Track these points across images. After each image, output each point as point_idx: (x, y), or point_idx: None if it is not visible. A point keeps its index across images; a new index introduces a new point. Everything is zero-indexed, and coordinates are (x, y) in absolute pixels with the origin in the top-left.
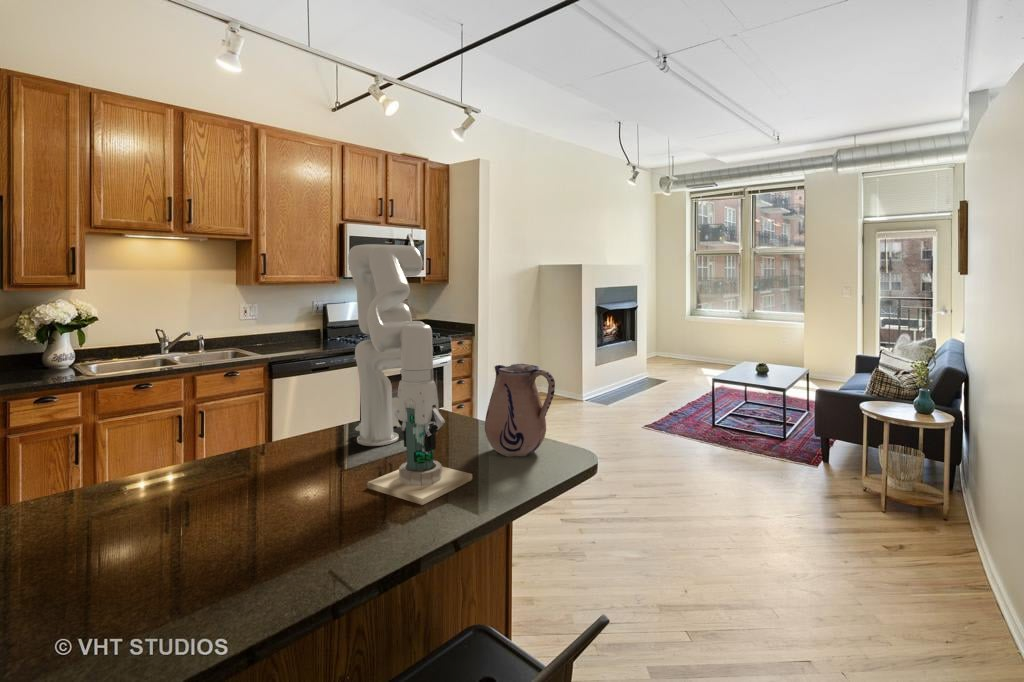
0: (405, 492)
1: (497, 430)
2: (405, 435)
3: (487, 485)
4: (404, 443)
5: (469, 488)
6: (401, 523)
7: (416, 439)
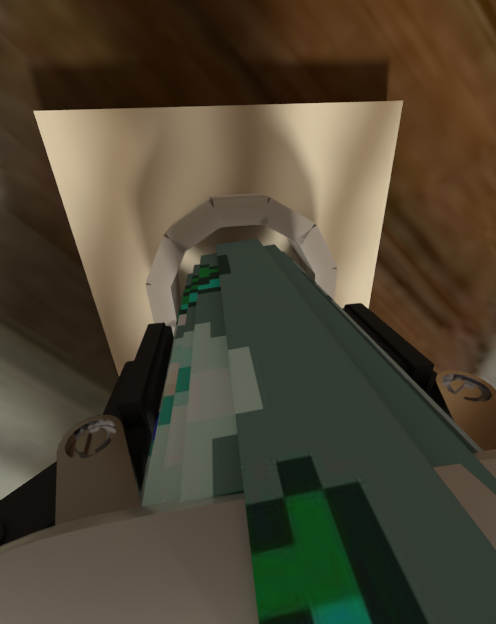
0: (162, 119)
1: None
2: (390, 349)
3: (58, 389)
4: (365, 311)
5: (77, 343)
6: None
7: (216, 333)
